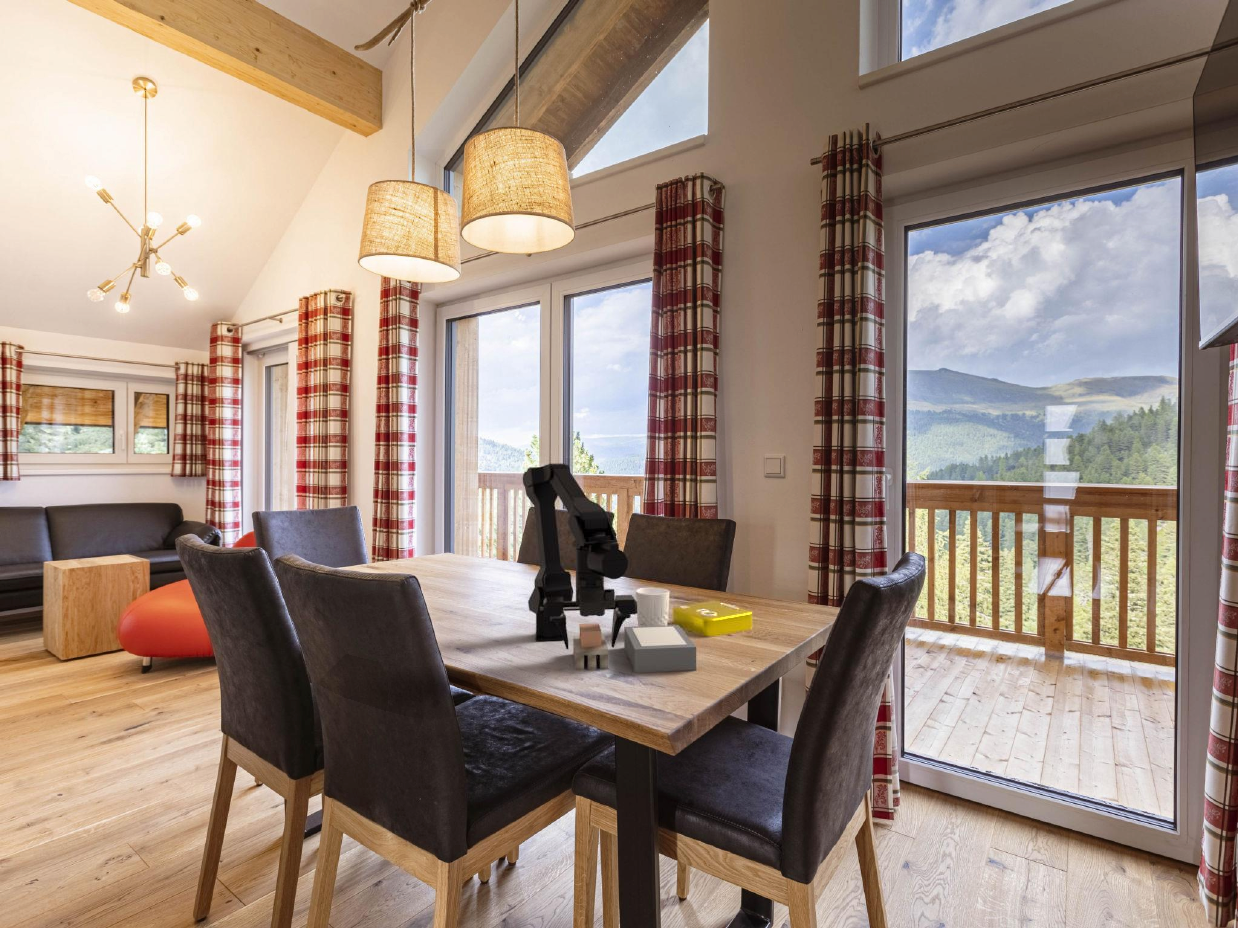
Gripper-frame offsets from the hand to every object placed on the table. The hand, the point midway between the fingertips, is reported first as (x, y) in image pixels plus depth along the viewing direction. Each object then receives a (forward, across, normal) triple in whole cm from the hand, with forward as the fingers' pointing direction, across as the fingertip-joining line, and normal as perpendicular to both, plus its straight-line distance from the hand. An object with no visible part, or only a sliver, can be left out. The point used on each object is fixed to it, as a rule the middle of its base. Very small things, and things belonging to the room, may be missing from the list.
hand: (590, 647), depth 126 cm
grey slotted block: (+3, 0, 0) cm, 3 cm away
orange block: (-1, 0, 0) cm, 1 cm away
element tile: (+3, +32, +23) cm, 39 cm away
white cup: (+3, +16, +18) cm, 24 cm away
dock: (+3, +14, 0) cm, 14 cm away
